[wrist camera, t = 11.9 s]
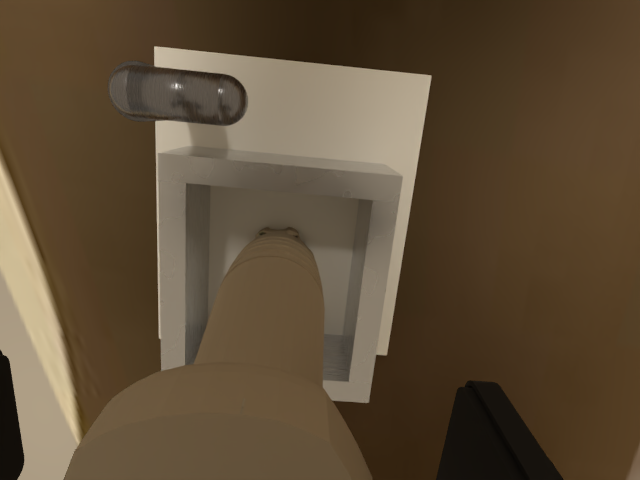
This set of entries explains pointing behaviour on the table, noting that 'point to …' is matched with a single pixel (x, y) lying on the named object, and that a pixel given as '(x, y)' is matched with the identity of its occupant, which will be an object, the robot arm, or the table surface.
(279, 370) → the handle
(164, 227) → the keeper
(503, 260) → the table surface
